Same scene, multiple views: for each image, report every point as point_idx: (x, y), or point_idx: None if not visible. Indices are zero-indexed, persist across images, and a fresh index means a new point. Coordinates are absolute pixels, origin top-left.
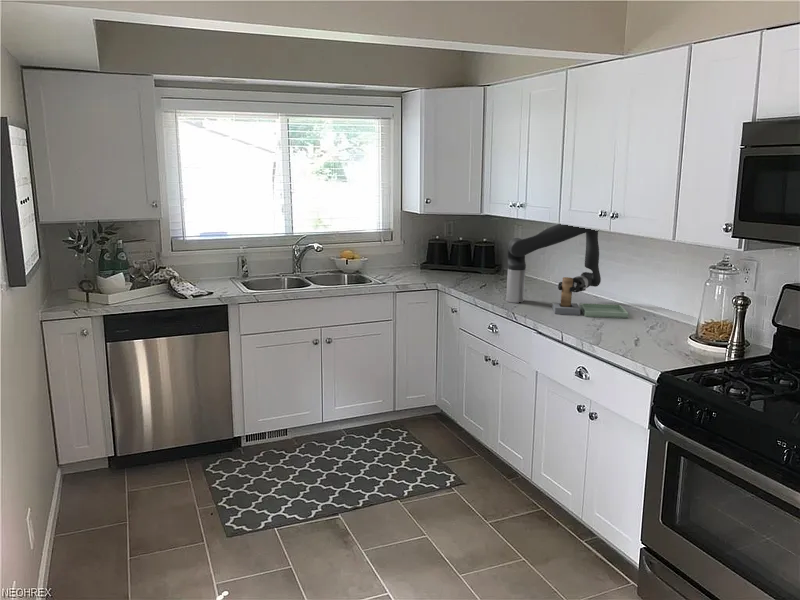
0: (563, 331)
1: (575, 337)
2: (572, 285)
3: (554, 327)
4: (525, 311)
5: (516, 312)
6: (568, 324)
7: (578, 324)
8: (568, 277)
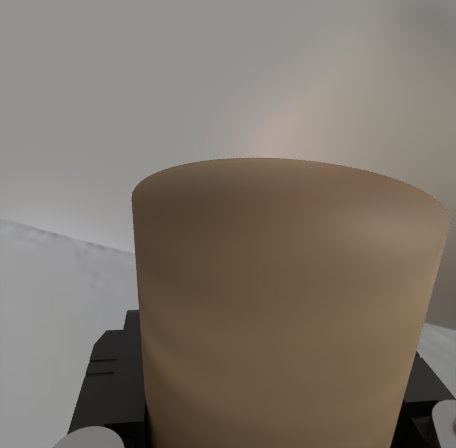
0: (71, 241)
1: (16, 222)
2: (144, 374)
3: (120, 256)
4: (448, 383)
5: (439, 335)
6: (69, 307)
7: (8, 332)
8: (382, 249)
